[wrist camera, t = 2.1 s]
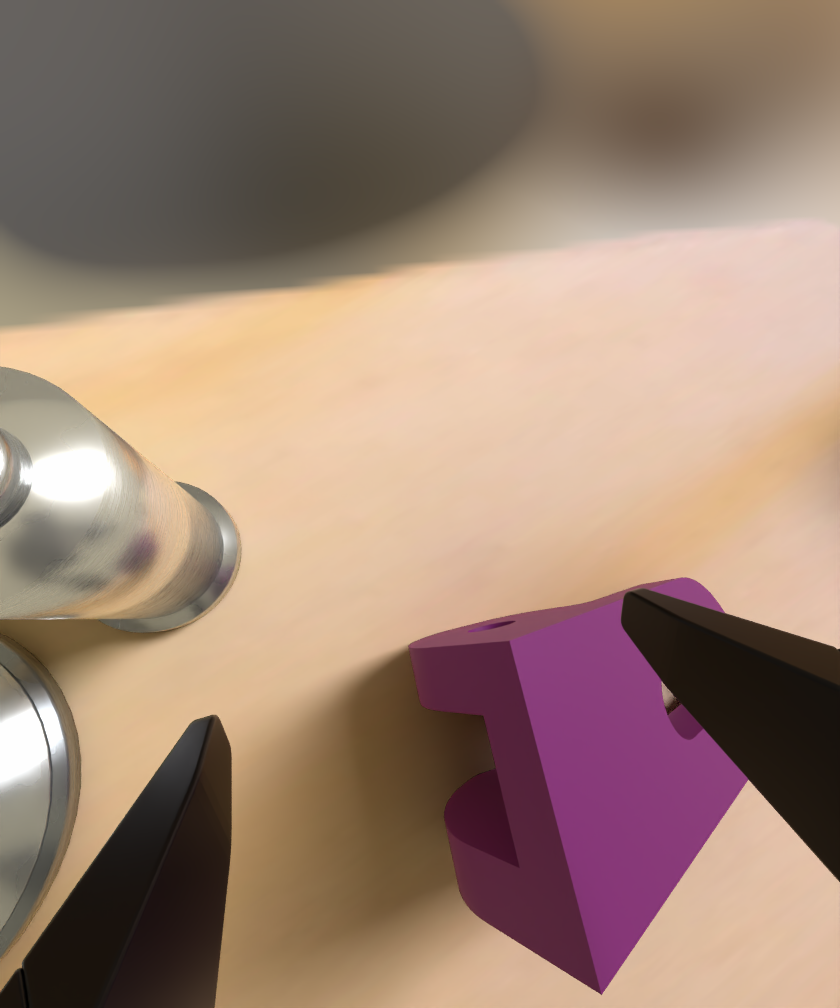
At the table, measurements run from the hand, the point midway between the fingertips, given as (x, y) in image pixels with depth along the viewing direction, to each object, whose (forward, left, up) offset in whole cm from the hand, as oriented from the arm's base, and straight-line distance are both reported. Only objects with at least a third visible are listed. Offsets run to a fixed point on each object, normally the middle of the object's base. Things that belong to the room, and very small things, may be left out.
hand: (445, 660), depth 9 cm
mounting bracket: (+9, -7, -14) cm, 18 cm away
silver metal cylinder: (-9, +7, -14) cm, 18 cm away
